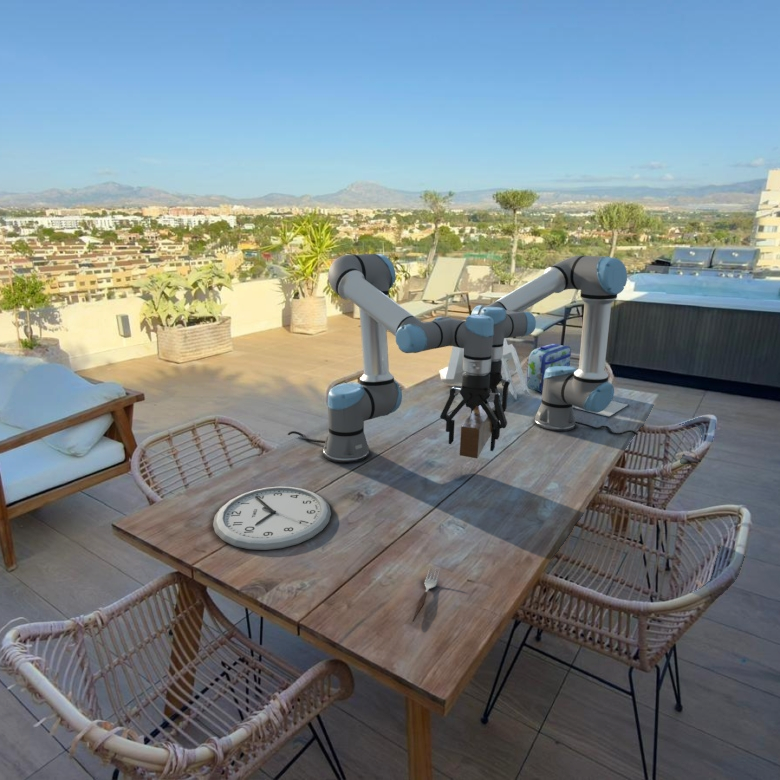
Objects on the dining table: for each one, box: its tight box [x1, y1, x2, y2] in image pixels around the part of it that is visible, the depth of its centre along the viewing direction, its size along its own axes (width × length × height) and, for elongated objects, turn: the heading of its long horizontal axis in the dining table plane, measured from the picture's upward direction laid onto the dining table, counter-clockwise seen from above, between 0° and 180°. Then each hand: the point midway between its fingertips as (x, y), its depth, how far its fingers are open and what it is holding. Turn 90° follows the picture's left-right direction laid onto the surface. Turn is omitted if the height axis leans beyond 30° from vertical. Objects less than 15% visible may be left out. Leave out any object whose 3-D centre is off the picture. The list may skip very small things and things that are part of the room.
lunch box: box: [526, 343, 572, 394], centre depth 248 cm, size 26×11×21 cm, turn 135°
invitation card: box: [573, 400, 629, 418], centre depth 226 cm, size 21×1×15 cm
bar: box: [459, 401, 495, 459], centre depth 157 cm, size 24×5×9 cm, turn 158°
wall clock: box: [212, 486, 332, 551], centre depth 136 cm, size 30×2×30 cm
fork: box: [412, 565, 441, 623], centre depth 107 cm, size 3×16×2 cm, turn 160°
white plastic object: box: [438, 338, 531, 400], centre depth 245 cm, size 37×45×31 cm
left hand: (471, 445), depth 150 cm, fingers open, 11 cm apart
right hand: (484, 429), depth 166 cm, fingers closed on bar, 5 cm apart
